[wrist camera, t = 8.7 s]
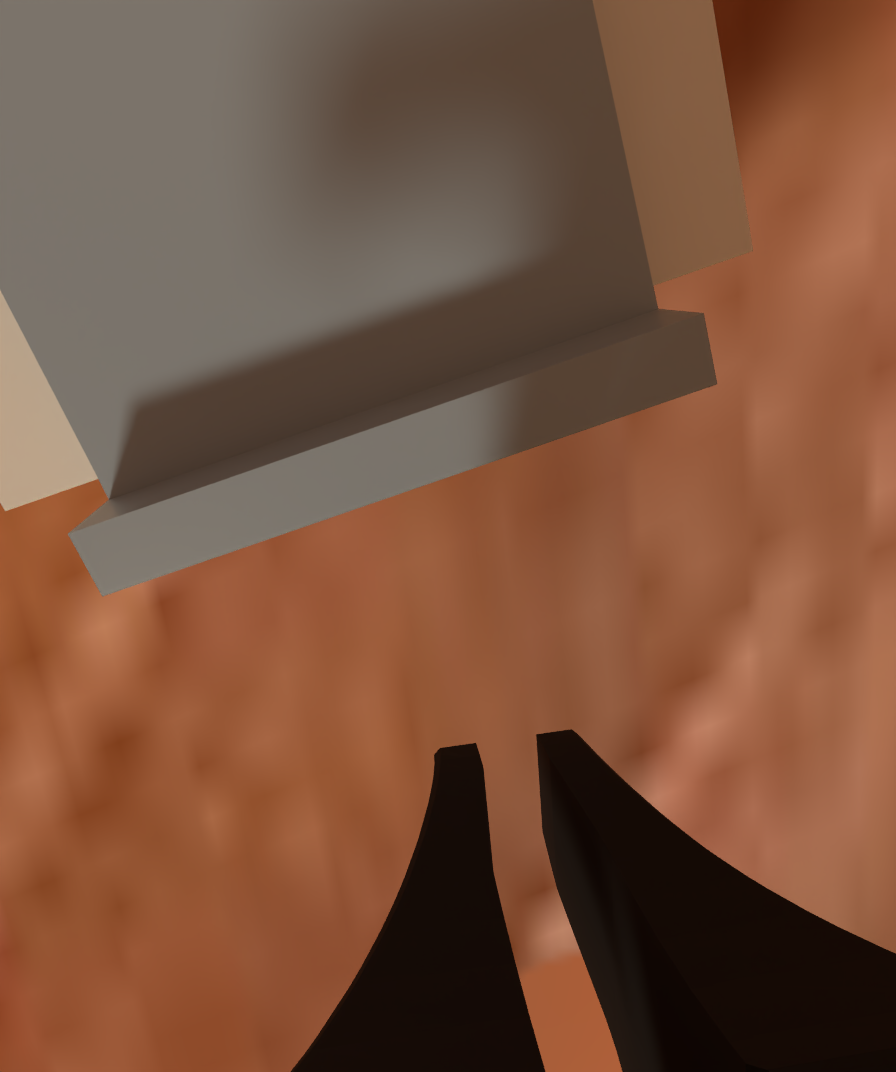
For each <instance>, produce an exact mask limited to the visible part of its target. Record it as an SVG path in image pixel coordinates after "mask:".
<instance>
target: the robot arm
mask: <svg viewBox="0 0 896 1072" xmlns="http://www.w3.org/2000/svg"><path fill="white" fill-rule="evenodd" d="M536 737H537V752H538V768H539V783H540V798H541V814H542V829H543V835H544V839H545V843H546V847H547V851H548V855H549V859H550V863H551V867H552V871H553V875H554V878H555V882H556V886H557V890H558V892H559V895H560V898H561V901H562V903H563V906H564V909H565V911H566V914H567V917H568V919H569V922H570V925H571V927H572V930H573V933H574V935H575V938H576V941H577V943H578V946H579V949H580V951H581V954H582V957H583V959H584V962H585V965H586V967H587V970H588V972H589V975H590V978H591V980H592V983H593V986H594V988H595V991H596V994H597V996H598V999H599V1002H600V1004H601V1007H602V1009H603V1012H604V1015H605V1018H606V1020H607V1023H608V1026H609V1029H610V1032H611V1035H612V1038H613V1041H614V1044H615V1047H616V1050H617V1054H618V1057H619V1061H620V1064H621V1067H622V1071H623V1072H896V954H895V953H893V952H891V951H889V950H886V949H884V948H882V947H880V946H878V945H875V944H873V943H871V942H869V941H867V940H865V939H863V938H861V937H858V936H856V935H854V934H852V933H850V932H848V931H846V930H843V929H841V928H839V927H837V926H835V925H833V924H831V923H829V922H827V921H826V920H824V919H822V918H820V917H818V916H816V915H814V914H812V913H810V912H808V911H806V910H804V909H803V908H801V907H799V906H797V905H796V904H794V903H792V902H790V901H788V900H787V899H785V898H783V897H781V896H780V895H778V894H776V893H774V892H772V891H771V890H769V889H767V888H766V887H764V886H762V885H761V884H759V883H757V882H756V881H754V880H752V879H751V878H749V877H748V876H746V875H744V874H743V873H741V872H740V871H738V870H737V869H735V868H734V867H732V866H731V865H729V864H728V863H726V862H725V861H723V860H722V859H720V858H719V857H717V856H716V855H714V854H713V853H711V852H710V851H709V850H707V849H706V848H705V847H703V846H702V845H701V844H699V843H698V842H696V841H695V840H694V839H692V838H691V837H690V836H689V835H687V834H686V833H685V832H684V831H682V830H681V829H680V828H679V827H677V826H676V825H675V824H673V823H672V822H671V821H670V820H669V819H667V818H666V817H665V816H664V815H663V814H661V813H660V812H659V811H658V810H657V809H655V808H654V807H653V806H652V805H651V804H650V803H649V802H647V801H646V800H645V799H644V798H643V797H642V796H641V795H640V794H638V793H637V792H636V791H635V790H634V789H633V788H632V787H631V786H629V785H628V784H627V783H626V782H625V781H624V780H623V779H622V778H621V777H620V776H619V775H618V774H617V773H616V772H615V771H614V770H613V769H612V768H611V767H610V766H609V765H607V764H606V763H605V762H604V761H603V760H602V759H601V758H600V757H599V756H598V755H597V754H596V753H595V752H594V751H593V749H592V748H591V747H590V746H589V745H588V744H587V743H586V742H585V741H584V740H583V739H582V738H581V737H580V736H579V735H578V734H577V733H576V732H574V731H573V730H572V729H571V730H564V731H557V732H550V733H543V734H536ZM434 760H435V765H434V776H433V783H432V788H431V793H430V798H429V803H428V807H427V810H426V814H425V817H424V821H423V825H422V828H421V832H420V835H419V838H418V842H417V845H416V847H415V850H414V853H413V856H412V858H411V861H410V864H409V867H408V869H407V872H406V875H405V878H404V880H403V883H402V885H401V887H400V890H399V892H398V895H397V897H396V899H395V901H394V904H393V906H392V908H391V910H390V912H389V914H388V917H387V919H386V921H385V923H384V925H383V927H382V929H381V931H380V933H379V935H378V937H377V939H376V941H375V942H374V944H373V946H372V948H371V950H370V952H369V954H368V956H367V957H366V959H365V961H364V963H363V965H362V967H361V968H360V970H359V972H358V974H357V975H356V977H355V979H354V980H353V982H352V984H351V985H350V987H349V989H348V990H347V992H346V993H345V995H344V996H343V998H342V999H341V1001H340V1002H339V1004H338V1005H337V1007H336V1008H335V1010H334V1011H333V1013H332V1015H331V1016H330V1018H329V1019H328V1021H327V1022H326V1024H325V1025H324V1027H323V1028H322V1030H321V1031H320V1033H319V1034H318V1036H317V1037H316V1039H315V1040H314V1042H313V1043H312V1044H311V1046H310V1047H309V1049H308V1050H307V1051H306V1053H305V1054H304V1055H303V1057H302V1058H301V1059H300V1060H299V1062H298V1063H297V1064H296V1066H295V1067H294V1068H293V1069H292V1071H291V1072H545V1069H544V1065H543V1062H542V1059H541V1055H540V1051H539V1048H538V1045H537V1041H536V1038H535V1034H534V1030H533V1027H532V1023H531V1020H530V1016H529V1013H528V1009H527V1005H526V1001H525V998H524V994H523V990H522V986H521V982H520V979H519V975H518V971H517V967H516V964H515V960H514V956H513V952H512V948H511V944H510V940H509V936H508V932H507V927H506V923H505V919H504V915H503V911H502V907H501V903H500V898H499V894H498V890H497V886H496V881H495V877H494V872H493V863H492V853H491V842H490V832H489V822H488V811H487V801H486V790H485V780H484V770H483V765H482V761H481V758H480V754H479V751H478V748H477V745H476V743H473V744H466V745H459V746H452V747H445V748H440V749H439V750H438V751H437V752H436V753H435V755H434Z"/></svg>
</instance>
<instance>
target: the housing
mask: <svg viewBox="0 0 896 1072" xmlns="http://www.w3.org/2000/svg"><path fill="white" fill-rule="evenodd" d="M592 1H593V5H594V10H595V15H596V20H597V24H598V29H599V34H600V38H601V43H602V48H603V52H604V57H605V62H606V66H607V71H608V76H609V81H610V85H611V90H612V95H613V99H614V104H615V109H616V113H617V118H618V123H619V128H620V132H621V137H622V142H623V146H624V151H625V156H626V160H627V165H628V170H629V174H630V179H631V184H632V189H633V193H634V198H635V203H636V207H637V212H638V217H639V221H640V226H641V231H642V236H643V240H644V245H645V250H646V254H647V259H648V264H649V268H650V273H651V278H652V283H653V286H654V285H657V284H659V283H662V282H665V281H668V280H671V279H674V278H677V277H680V276H682V275H685V274H688V273H691V272H694V271H697V270H700V269H703V268H705V267H708V266H711V265H714V264H717V263H720V262H723V261H726V260H728V259H731V258H734V257H737V256H740V255H743V254H746V253H749V252H751V251H753V247H752V241H751V235H750V228H749V222H748V216H747V210H746V204H745V198H744V192H743V186H742V179H741V173H740V167H739V161H738V155H737V149H736V143H735V137H734V131H733V124H732V118H731V112H730V106H729V100H728V94H727V88H726V82H725V75H724V69H723V63H722V57H721V51H720V45H719V39H718V33H717V27H716V20H715V14H714V8H713V2H712V0H592ZM96 479H98V477H97V475H96V473H95V471H94V470H93V468H92V466H91V464H90V462H89V460H88V458H87V456H86V454H85V452H84V450H83V448H82V446H81V445H80V443H79V441H78V439H77V437H76V435H75V433H74V431H73V429H72V427H71V425H70V423H69V421H68V419H67V418H66V416H65V414H64V412H63V410H62V408H61V406H60V404H59V402H58V400H57V398H56V396H55V394H54V393H53V391H52V389H51V387H50V385H49V383H48V381H47V379H46V377H45V375H44V373H43V371H42V369H41V368H40V366H39V364H38V362H37V360H36V358H35V356H34V354H33V352H32V350H31V348H30V346H29V344H28V343H27V341H26V339H25V337H24V335H23V333H22V331H21V329H20V327H19V325H18V323H17V321H16V319H15V318H14V316H13V314H12V312H11V310H10V308H9V306H8V304H7V302H6V300H5V298H4V296H3V294H2V293H1V291H0V503H1V505H2V506H3V508H4V510H5V511H7V510H10V509H13V508H16V507H19V506H21V505H24V504H27V503H30V502H33V501H36V500H39V499H42V498H44V497H47V496H50V495H53V494H56V493H59V492H62V491H65V490H67V489H70V488H73V487H76V486H79V485H82V484H85V483H88V482H90V481H93V480H96Z"/></svg>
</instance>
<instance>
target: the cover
mask: <svg viewBox="0 0 896 1072" xmlns="http://www.w3.org/2000/svg"><path fill="white" fill-rule="evenodd" d="M0 291H1V293H2V294H3V296H4V298H5V300H6V302H7V304H8V306H9V308H10V310H11V312H12V314H13V316H14V318H15V319H16V321H17V323H18V325H19V327H20V329H21V331H22V333H23V335H24V337H25V339H26V341H27V343H28V344H29V346H30V348H31V350H32V352H33V354H34V356H35V358H36V360H37V362H38V364H39V366H40V368H41V369H42V371H43V373H44V375H45V377H46V379H47V381H48V383H49V385H50V387H51V389H52V391H53V393H54V394H55V396H56V398H57V400H58V402H59V404H60V406H61V408H62V410H63V412H64V414H65V416H66V418H67V419H68V421H69V423H70V425H71V427H72V429H73V431H74V433H75V435H76V437H77V439H78V441H79V443H80V445H81V446H82V448H83V450H84V452H85V454H86V456H87V458H88V460H89V462H90V464H91V466H92V468H93V470H94V471H95V473H96V475H97V477H98V479H99V481H100V483H101V485H102V487H103V489H104V491H105V493H106V495H107V496H108V498H109V500H108V501H107V502H106V503H104V504H103V505H102V506H101V507H100V508H98V509H97V510H96V511H95V512H94V513H92V514H91V515H90V516H89V517H88V518H86V519H85V520H84V521H83V522H82V523H80V524H79V525H78V526H77V527H75V528H74V529H73V530H72V531H71V532H69V533H68V535H69V537H70V539H71V540H72V542H73V544H74V546H75V548H76V549H77V551H78V553H79V555H80V557H81V558H82V560H83V562H84V564H85V566H86V568H87V569H88V571H89V573H90V575H91V577H92V578H93V580H94V582H95V584H96V586H97V588H98V589H99V591H100V593H101V595H102V596H105V595H108V594H111V593H114V592H117V591H120V590H122V589H125V588H128V587H131V586H134V585H137V584H140V583H143V582H146V581H149V580H151V579H154V578H157V577H160V576H163V575H166V574H169V573H172V572H175V571H177V570H180V569H183V568H186V567H189V566H192V565H195V564H198V563H201V562H204V561H206V560H209V559H212V558H215V557H218V556H221V555H224V554H227V553H230V552H232V551H235V550H238V549H241V548H244V547H247V546H250V545H253V544H256V543H259V542H261V541H264V540H267V539H270V538H273V537H276V536H279V535H282V534H285V533H288V532H290V531H293V530H296V529H299V528H302V527H305V526H308V525H311V524H314V523H316V522H319V521H322V520H325V519H328V518H331V517H334V516H337V515H340V514H343V513H345V512H348V511H351V510H354V509H357V508H360V507H363V506H366V505H369V504H371V503H374V502H377V501H380V500H383V499H386V498H389V497H392V496H395V495H398V494H400V493H403V492H406V491H409V490H412V489H415V488H418V487H421V486H424V485H426V484H429V483H432V482H435V481H438V480H441V479H444V478H447V477H450V476H453V475H455V474H458V473H461V472H464V471H467V470H470V469H473V468H476V467H479V466H482V465H484V464H487V463H490V462H493V461H496V460H499V459H502V458H505V457H508V456H510V455H513V454H516V453H519V452H522V451H525V450H528V449H531V448H534V447H537V446H539V445H542V444H545V443H548V442H551V441H554V440H557V439H560V438H563V437H565V436H568V435H571V434H574V433H577V432H580V431H583V430H586V429H589V428H592V427H594V426H597V425H600V424H603V423H606V422H609V421H612V420H615V419H618V418H620V417H623V416H626V415H629V414H632V413H635V412H638V411H641V410H644V409H647V408H649V407H652V406H655V405H658V404H661V403H664V402H667V401H670V400H673V399H676V398H678V397H681V396H684V395H687V394H690V393H693V392H696V391H699V390H702V389H704V388H707V387H710V386H713V385H716V384H717V380H716V375H715V370H714V364H713V359H712V354H711V349H710V344H709V338H708V333H707V328H706V323H705V318H704V313H696V312H686V311H675V310H665V309H658V306H657V301H656V297H655V292H654V287H653V283H652V278H651V273H650V268H649V264H648V259H647V254H646V250H645V245H644V240H643V236H642V231H641V226H640V221H639V217H638V212H637V207H636V203H635V198H634V193H633V189H632V184H631V179H630V174H629V170H628V165H627V160H626V156H625V151H624V146H623V142H622V137H621V132H620V128H619V123H618V118H617V113H616V109H615V104H614V99H613V95H612V90H611V85H610V81H609V76H608V71H607V66H606V62H605V57H604V52H603V48H602V43H601V38H600V34H599V29H598V24H597V20H596V15H595V10H594V5H593V1H592V0H0Z"/></svg>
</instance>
